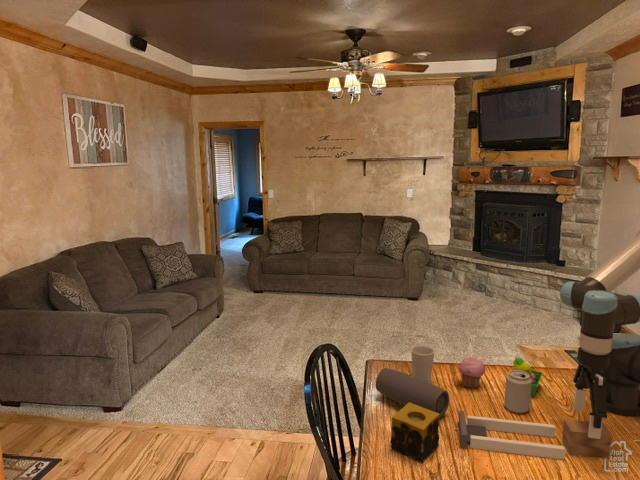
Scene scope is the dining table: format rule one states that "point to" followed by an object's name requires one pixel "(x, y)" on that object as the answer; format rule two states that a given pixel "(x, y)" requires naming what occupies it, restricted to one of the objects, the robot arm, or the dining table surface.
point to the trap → (468, 430)
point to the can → (518, 391)
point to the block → (585, 440)
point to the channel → (514, 445)
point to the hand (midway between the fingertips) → (585, 423)
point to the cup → (422, 362)
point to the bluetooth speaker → (412, 391)
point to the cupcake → (471, 371)
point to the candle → (415, 432)
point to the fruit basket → (534, 375)
